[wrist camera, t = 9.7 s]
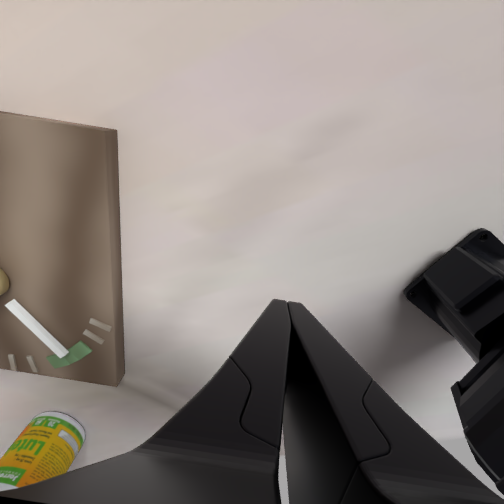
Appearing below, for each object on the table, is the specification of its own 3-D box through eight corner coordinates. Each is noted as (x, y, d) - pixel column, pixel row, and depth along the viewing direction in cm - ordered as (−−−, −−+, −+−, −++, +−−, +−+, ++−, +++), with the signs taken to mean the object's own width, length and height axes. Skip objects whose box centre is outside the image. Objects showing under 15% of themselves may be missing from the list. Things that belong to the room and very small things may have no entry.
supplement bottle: (67, 404, 29) (-23, 532, 20) (97, 441, 31) (26, 572, 22) (22, 415, 30) (-84, 540, 21) (53, 450, 32) (-32, 578, 23)
